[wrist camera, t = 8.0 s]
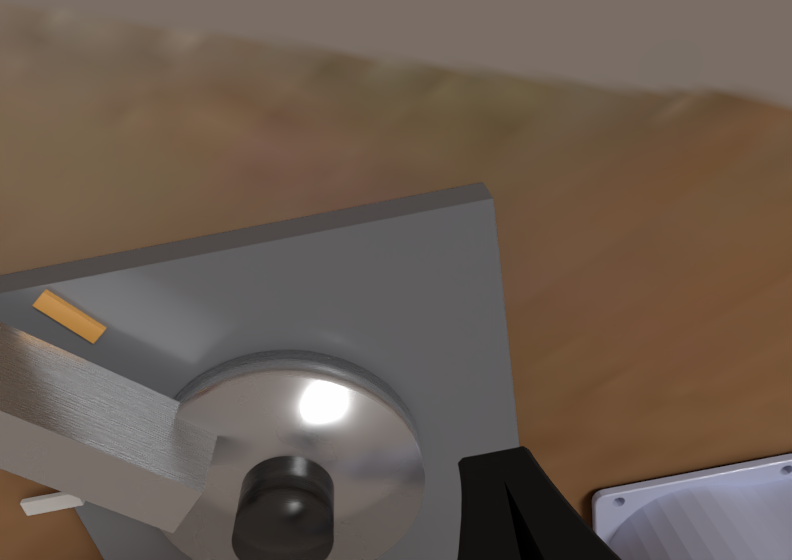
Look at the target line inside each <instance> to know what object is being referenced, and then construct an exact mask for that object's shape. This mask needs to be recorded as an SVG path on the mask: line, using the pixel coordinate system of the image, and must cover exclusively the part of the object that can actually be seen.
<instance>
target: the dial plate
mask: <svg viewBox="0 0 792 560" xmlns="http://www.w3.org/2000/svg"><path fill="white" fill-rule="evenodd" d="M0 322H3V323H5V324H7V325H9V326H11V327H14V328H16V329H18V330H20V331H23V332H25V333H27V334H29V335H31V336H34V337H36V338H38V339H40V340H43V341H45V342H47V343H49V344H51V345H54V346H56V347H58V348H60V349H63V350H65V351H67V352H69V353H72V354H74V355H76V356H78V357H80V358H83V359H85V360H87V361H89V362H92V363H94V364H96V365H98V366H100V367H103V368H105V369H107V370H109V371H112V372H114V373H116V374H118V375H120V376H123V377H125V378H127V379H129V380H132V381H134V382H136V383H138V384H140V385H143V386H145V387H147V388H149V389H152V390H154V391H156V392H158V393H160V394H163V395H165V396H167V397H169V398H172V399H174V400H175V398H176V397H177V396H178V394H179V393H180V392H181V391H182V390H183V389H184V388H185V387H186V386H187V385H188V384H189V383H190V382H192V381H193V380H194V379H196V378H197V377H199V376H200V375H201V374H203V373H204V372H206V371H208V370H210V369H211V368H213V367H215V366H217V365H219V364H221V363H224V362H226V361H229V360H231V359H234V358H237V357H240V356H244V355H248V354H252V353H256V352H263V351H271V350H304V351H314V352H319V353H324V354H329V355H332V356H336V357H339V358H342V359H345V360H348V361H350V362H352V363H355V364H357V365H359V366H361V367H363V368H365V369H367V370H368V371H370V372H372V373H373V374H375V375H377V376H378V377H379V378H380V379H382V380H383V381H384V382H385V383H387V384H388V385H389V386H390V387H391V388H392V389H393V390H394V391H395V392H396V393H397V394H398V395H399V396H400V398H401V399H402V400H403V402H404V403H405V405H406V406H407V408H408V409H409V411H410V413H411V415H412V417H413V419H414V422H415V425H416V428H417V432H418V436H419V442H420V448H421V453H422V459H423V465H424V474H425V488H424V495H423V499H422V504H421V506H420V509H419V511H418V514H417V516H416V518H415V519H414V521H413V523H412V524H411V526H410V528H409V529H408V530H407V532H406V533H405V534H404V535H403V537H402V538H401V539H400V540H399V541H398V542H397V543H396V544H395V545H394V546H393V547H392V548H390V549H389V550H388V551H387V552H385V553H384V554H383V555H381V556H380V557H378V558H377V559H375V560H457V558H458V550H459V537H460V525H461V500H462V499H461V480H460V474H459V468H458V462H459V461H460V460H461V459H462V458H464V457H469V456H475V455H480V454H485V453H490V452H496V451H501V450H506V449H511V448H517V447H519V438H518V428H517V419H516V409H515V400H514V390H513V381H512V371H511V362H510V352H509V343H508V333H507V324H506V314H505V305H504V295H503V286H502V276H501V267H500V257H499V248H498V238H497V229H496V219H495V210H494V200H493V197H492V196H491V194H490V193H489V191H488V190H487V188H486V187H485V185H484V184H483V182H482V183H477V184H472V185H467V186H462V187H457V188H451V189H446V190H441V191H436V192H431V193H425V194H420V195H415V196H410V197H405V198H400V199H394V200H389V201H384V202H379V203H374V204H368V205H363V206H358V207H353V208H348V209H343V210H337V211H332V212H327V213H322V214H317V215H311V216H306V217H301V218H296V219H291V220H286V221H280V222H275V223H270V224H265V225H260V226H255V227H249V228H244V229H239V230H234V231H229V232H223V233H218V234H213V235H208V236H203V237H198V238H192V239H187V240H182V241H177V242H172V243H166V244H161V245H156V246H151V247H146V248H141V249H135V250H130V251H125V252H120V253H115V254H109V255H104V256H99V257H94V258H89V259H84V260H78V261H73V262H68V263H63V264H58V265H52V266H47V267H42V268H37V269H32V270H27V271H21V272H16V273H11V274H6V275H1V276H0ZM20 505H21V506H22V508H23V510H24V511H25V513H26V514H27V516H29V515H35V514H40V513H45V512H50V511H55V510H61V509H66V508H71V507H74V508H75V510H76V512H77V514H78V515H79V517H80V519H81V521H82V522H83V524H84V526H85V527H86V529H87V531H88V533H89V534H90V536H91V538H92V540H93V541H94V543H95V545H96V547H97V548H98V550H99V552H100V553H101V555H102V557H103V559H104V560H193V559H192V558H190V557H189V556H187V555H186V554H185V553H183V552H182V551H180V550H179V549H178V548H177V547H176V546H175V545H174V544H173V543H172V542H171V541H170V540H169V539H168V538H167V537H166V536H165V534H164V533H163V532H162V531H161V530H160V528H157V527H155V526H152V525H149V524H147V523H144V522H141V521H139V520H136V519H133V518H131V517H128V516H125V515H123V514H120V513H117V512H115V511H112V510H109V509H107V508H104V507H101V506H99V505H96V504H93V503H91V502H88V501H85V500H83V499H80V498H77V497H75V496H72V495H69V494H67V493H64V492H58V493H53V494H48V495H42V496H37V497H32V498H27V499H22V501H21V503H20Z"/></svg>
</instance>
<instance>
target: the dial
mask: <svg viewBox="0 0 792 560" xmlns="http://www.w3.org/2000/svg"><path fill="white" fill-rule="evenodd" d="M0 469H3V470H5V471H8V472H11V473H13V474H16V475H19V476H21V477H24V478H27V479H29V480H32V481H35V482H37V483H40V484H43V485H45V486H48V487H51V488H53V489H56V490H59V491H61V492H64V493H67V494H69V495H72V496H75V497H77V498H80V499H83V500H85V501H88V502H91V503H93V504H96V505H99V506H101V507H104V508H107V509H109V510H112V511H115V512H117V513H120V514H123V515H125V516H128V517H131V518H133V519H136V520H139V521H141V522H144V523H147V524H149V525H152V526H155V527H157V528H160V530H161V531H162V532H163V533H164V534H165V536H166V537H167V538H168V539H169V540H170V541H171V542H172V543H173V544H174V545H175V546H176V547H177V548H178V549H179V550H180V551H182V552H183V553H185V554H186V555H187V556H189V557H190V558H192V559H193V560H375V559H377V558H378V557H380V556H381V555H383V554H384V553H385V552H387V551H388V550H389V549H390V548H392V547H393V546H394V545H395V544H396V543H397V542H398V541H399V540H400V539H401V538H402V537H403V535H404V534H405V533H406V532H407V530H408V529H409V528H410V526H411V524H412V523H413V521H414V519H415V518H416V516H417V514H418V511H419V509H420V506H421V504H422V499H423V495H424V488H425V474H424V465H423V459H422V453H421V448H420V442H419V436H418V432H417V428H416V425H415V422H414V419H413V417H412V415H411V413H410V411H409V409H408V408H407V406H406V405H405V403H404V402H403V400H402V399H401V398H400V396H399V395H398V394H397V393H396V392H395V391H394V390H393V389H392V388H391V387H390V386H389V385H388V384H387V383H385V382H384V381H383V380H382V379H380V378H379V377H378V376H377V375H375V374H373V373H372V372H370V371H368V370H367V369H365V368H363V367H361V366H359V365H357V364H355V363H352V362H350V361H348V360H345V359H342V358H339V357H336V356H332V355H329V354H324V353H319V352H314V351H304V350H271V351H263V352H256V353H252V354H248V355H244V356H240V357H237V358H234V359H231V360H229V361H226V362H224V363H221V364H219V365H217V366H215V367H213V368H211V369H210V370H208V371H206V372H204V373H203V374H201V375H200V376H199V377H197V378H196V379H194V380H193V381H192V382H190V383H189V384H188V385H187V386H186V387H185V388H184V389H183V390H182V391H181V392H180V393H179V394H178V396H177V397H176V398H175V400H174V399H172V398H169V397H167V396H165V395H163V394H160V393H158V392H156V391H154V390H152V389H149V388H147V387H145V386H143V385H140V384H138V383H136V382H134V381H132V380H129V379H127V378H125V377H123V376H120V375H118V374H116V373H114V372H112V371H109V370H107V369H105V368H103V367H100V366H98V365H96V364H94V363H92V362H89V361H87V360H85V359H83V358H80V357H78V356H76V355H74V354H72V353H69V352H67V351H65V350H63V349H60V348H58V347H56V346H54V345H51V344H49V343H47V342H45V341H43V340H40V339H38V338H36V337H34V336H31V335H29V334H27V333H25V332H23V331H20V330H18V329H16V328H14V327H11V326H9V325H7V324H5V323H3V322H0Z"/></svg>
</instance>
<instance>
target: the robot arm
mask: <svg viewBox="0 0 792 560" xmlns="http://www.w3.org/2000/svg"><path fill="white" fill-rule="evenodd" d="M458 468H459V474H460V480H461V499H462V500H461V525H460V537H459V550H458V558H457V560H792V453H791V454H786V455H780V456H775V457H770V458H765V459H759V460H754V461H749V462H744V463H738V464H733V465H728V466H723V467H717V468H712V469H707V470H702V471H696V472H691V473H686V474H681V475H675V476H670V477H665V478H660V479H655V480H649V481H644V482H639V483H634V484H628V485H623V486H618V487H613V488H607V489H602V490H599V491H598V492H596V493H595V494H594V496H593V497H592V521H593V529H592V528H591V527H590V526H589V525H588V524H587V523H586V522H585V521H584V519H583V518H582V517H581V516H580V515H579V514H578V513H577V512H576V510H575V509H574V508H573V507H572V506H571V505H570V504H569V502H568V501H567V500H566V499H565V498H564V496H563V495H562V494H561V493H560V491H559V490H558V489H557V488H556V486H555V485H554V484H553V483H552V481H551V480H550V479H549V477H548V476H547V475H546V474H545V472H544V471H543V469H542V468H541V467H540V465H539V464H538V462H537V461H536V460H535V458H534V457H533V455H532V453H531V452H530V450H529V449H527V448H525V447H524V446H522V447H517V448H511V449H506V450H501V451H496V452H490V453H485V454H480V455H475V456H469V457H464V458H462V459H461V460H460V461H459V462H458ZM616 498H617V499H616Z"/></svg>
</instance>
